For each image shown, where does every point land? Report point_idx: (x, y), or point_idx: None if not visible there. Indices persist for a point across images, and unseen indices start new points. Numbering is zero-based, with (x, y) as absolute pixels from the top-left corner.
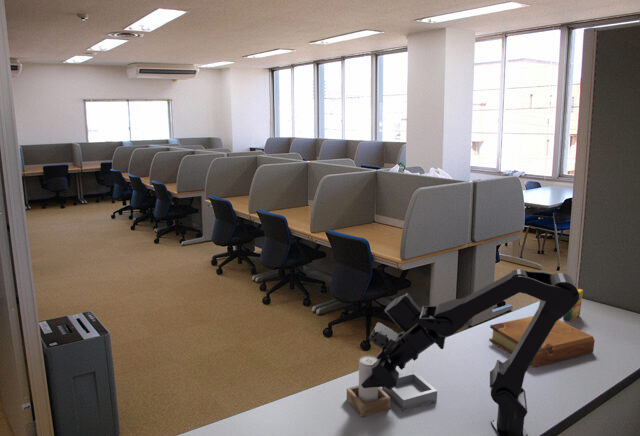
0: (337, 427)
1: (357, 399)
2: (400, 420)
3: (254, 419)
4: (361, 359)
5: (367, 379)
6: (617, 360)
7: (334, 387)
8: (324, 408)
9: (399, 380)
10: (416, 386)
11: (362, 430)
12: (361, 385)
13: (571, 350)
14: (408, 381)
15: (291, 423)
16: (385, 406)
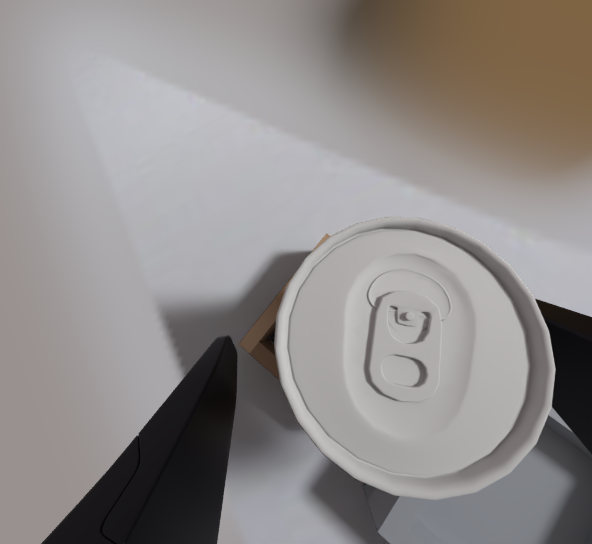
0: (167, 292)
1: (272, 308)
2: (297, 497)
3: (123, 88)
4: (382, 238)
5: (154, 419)
6: None
7: (366, 184)
8: (241, 212)
9: (554, 424)
10: (577, 511)
11: (182, 375)
12: (219, 339)
13: None
14: (590, 456)
15: (138, 169)
16: None
